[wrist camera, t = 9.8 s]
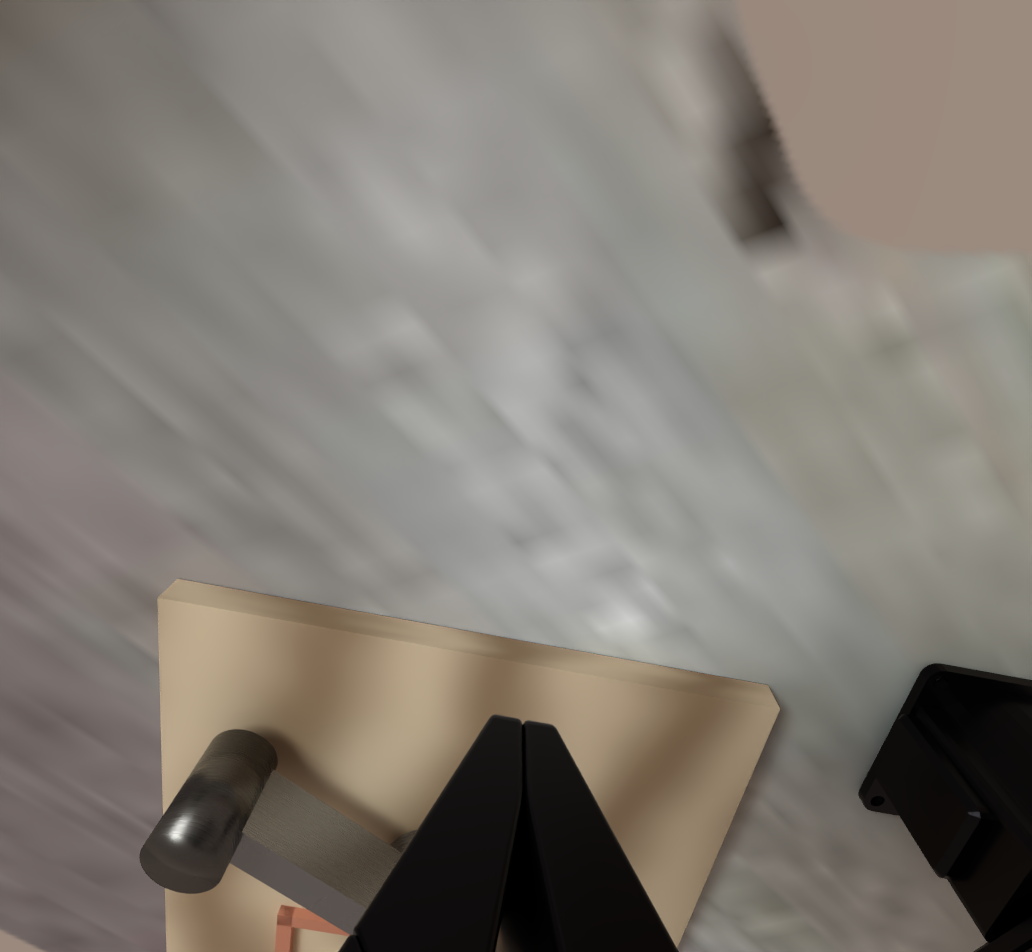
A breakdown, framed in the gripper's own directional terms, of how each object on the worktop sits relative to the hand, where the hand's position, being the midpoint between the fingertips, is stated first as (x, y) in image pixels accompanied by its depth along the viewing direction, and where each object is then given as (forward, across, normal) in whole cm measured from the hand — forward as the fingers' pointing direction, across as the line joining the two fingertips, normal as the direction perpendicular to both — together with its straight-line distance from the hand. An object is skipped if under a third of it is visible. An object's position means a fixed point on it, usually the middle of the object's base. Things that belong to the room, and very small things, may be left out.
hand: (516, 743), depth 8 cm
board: (+12, 0, +17) cm, 21 cm away
